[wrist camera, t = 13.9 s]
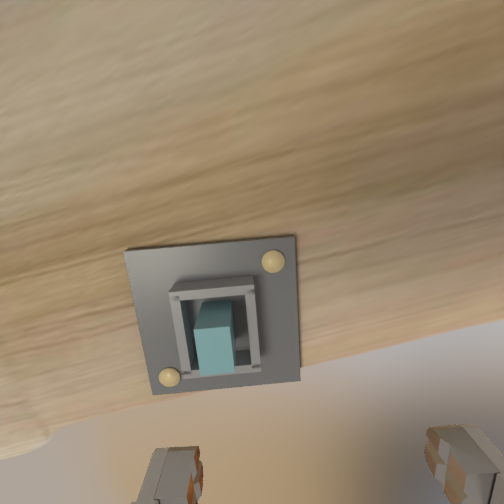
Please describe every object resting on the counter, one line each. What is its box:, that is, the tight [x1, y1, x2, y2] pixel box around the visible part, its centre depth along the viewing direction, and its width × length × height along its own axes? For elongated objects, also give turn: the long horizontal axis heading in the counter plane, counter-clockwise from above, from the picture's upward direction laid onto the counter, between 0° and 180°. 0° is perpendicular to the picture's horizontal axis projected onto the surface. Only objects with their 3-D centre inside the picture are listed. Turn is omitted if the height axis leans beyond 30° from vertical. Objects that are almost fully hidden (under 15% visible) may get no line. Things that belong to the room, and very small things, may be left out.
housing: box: [123, 235, 300, 395], centre depth 37 cm, size 22×22×4 cm
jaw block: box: [194, 300, 236, 376], centre depth 34 cm, size 4×6×7 cm, turn 5°
